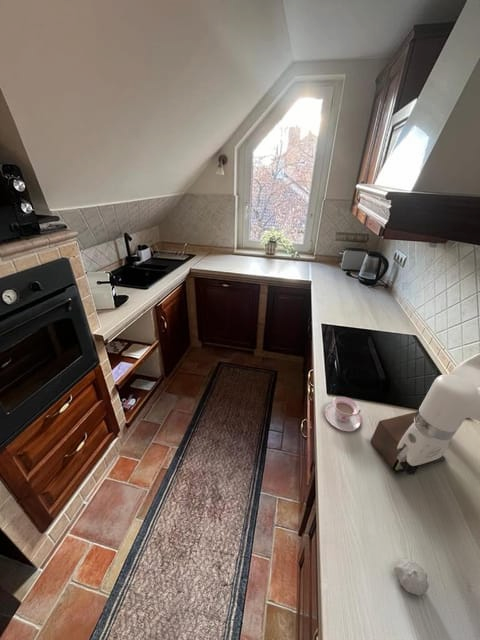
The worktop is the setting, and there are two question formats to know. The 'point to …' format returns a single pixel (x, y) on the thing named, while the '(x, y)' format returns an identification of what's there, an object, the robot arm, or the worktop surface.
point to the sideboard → (394, 440)
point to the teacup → (343, 414)
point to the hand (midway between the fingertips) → (406, 468)
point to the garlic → (411, 576)
